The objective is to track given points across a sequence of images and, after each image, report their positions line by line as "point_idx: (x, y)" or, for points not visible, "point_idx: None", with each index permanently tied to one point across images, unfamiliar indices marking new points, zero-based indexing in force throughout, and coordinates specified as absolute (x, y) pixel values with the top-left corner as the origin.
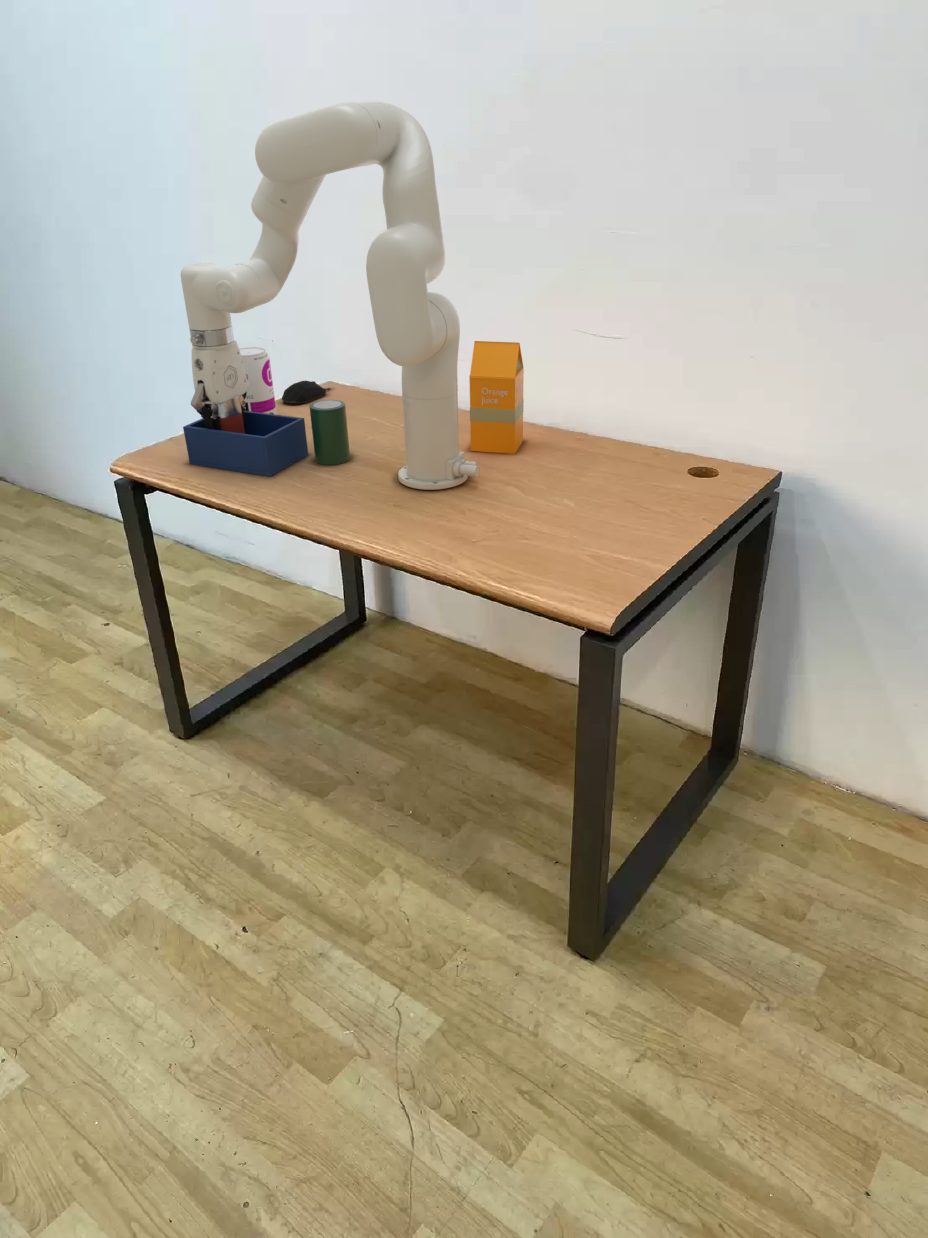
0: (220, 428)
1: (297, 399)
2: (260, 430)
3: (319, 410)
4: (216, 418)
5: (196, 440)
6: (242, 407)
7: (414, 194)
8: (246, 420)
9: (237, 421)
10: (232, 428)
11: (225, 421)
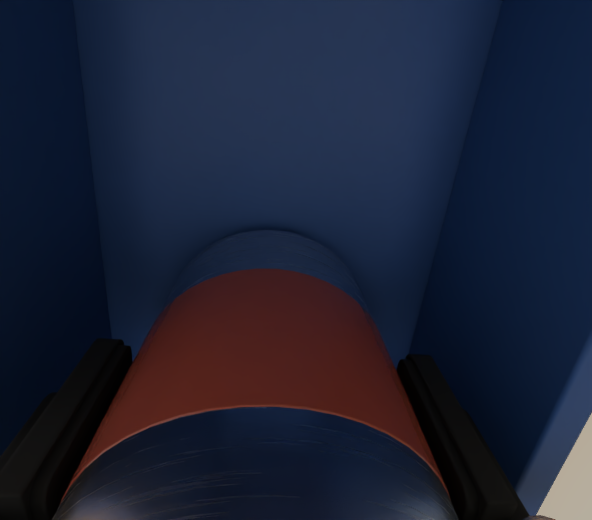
0: (446, 409)
1: None
2: (38, 234)
3: None
4: (503, 518)
5: None
6: (5, 497)
7: None
8: (19, 386)
9: (306, 353)
10: (358, 342)
11: (420, 431)
